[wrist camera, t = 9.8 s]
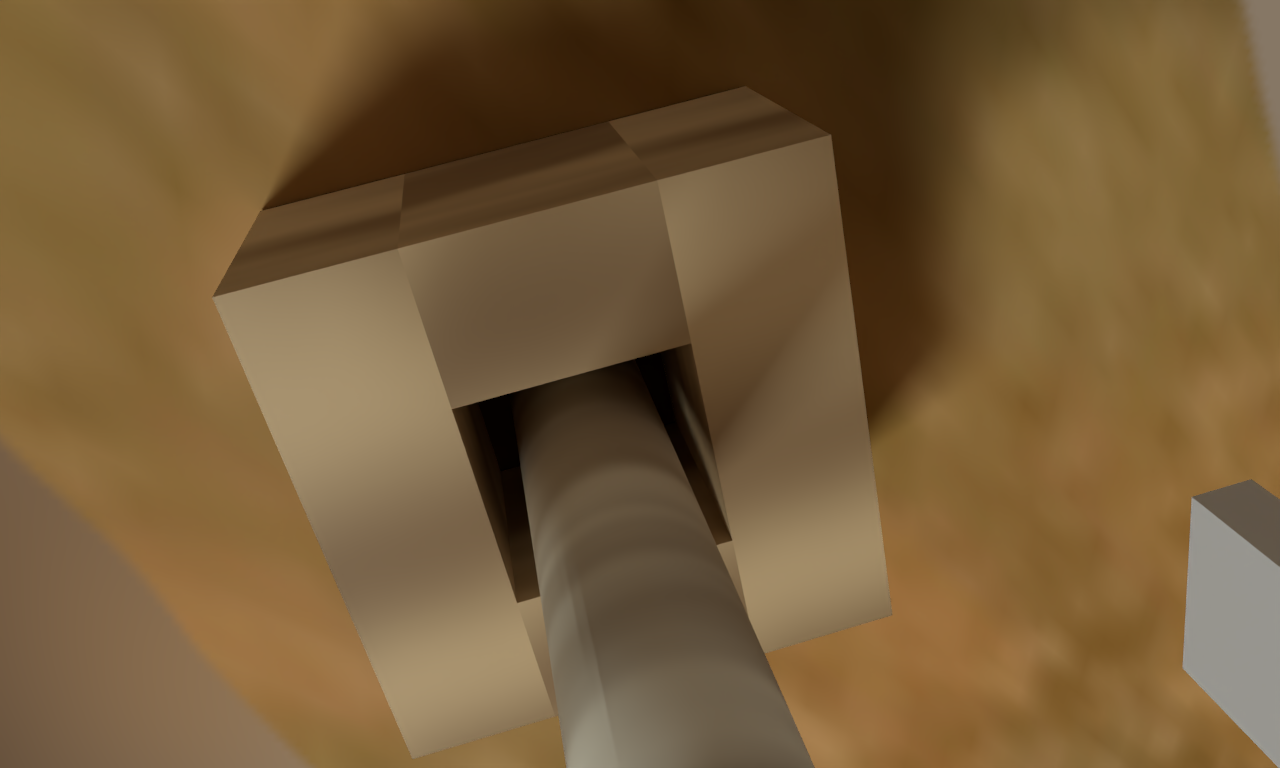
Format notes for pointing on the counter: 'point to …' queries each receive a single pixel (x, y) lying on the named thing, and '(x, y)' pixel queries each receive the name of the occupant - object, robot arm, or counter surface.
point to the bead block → (552, 350)
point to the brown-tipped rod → (638, 591)
